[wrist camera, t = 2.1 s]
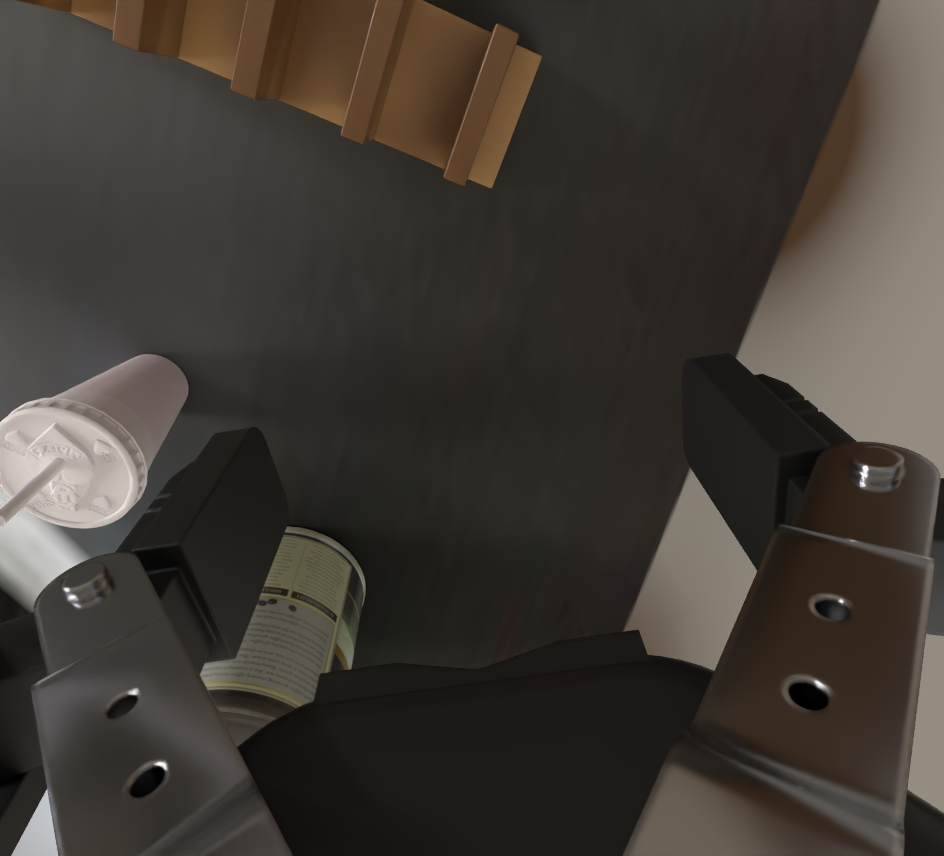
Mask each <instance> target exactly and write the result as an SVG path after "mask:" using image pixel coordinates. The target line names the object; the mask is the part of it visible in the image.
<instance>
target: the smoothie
mask: <svg viewBox="0 0 944 856" xmlns="http://www.w3.org/2000/svg"><path fill="white" fill-rule="evenodd" d="M188 391H189V388H188V382H187V379H186V377H185V375H184V373H183V372H182V371H181V369H180V368H179V367H178V366H177V365H176V364H174V363H173V362H172V361H170V360H168V359H167V358H164V357H162V356H159V355H154V354H143V355H139V356H136V357H134V358H132V359H130V360H128V361H126V362H124V363H122V364H120V365H118V366H116V367H114V368H112V369H110V370H108V371H106V372H104V373H102V374H99V375H97V376H95V377H93V378H91V379H89V380H87V381H85V382H83V383H81V384H79V385H77V386H75V387H73V388H71V389H69V390H67V391H65V392H63V393H61V394H58V395H56V396H54V397H52V398H42V399H38V400H34V401H30V402H26V403H25V404H23V405H22V406H20V407H18V408H17V409H15V410H13V411H12V412H11V413H10V415H9V416H7V417H6V418H5V419H3V420H2V421H1V422H0V487H1V488H2V489H3V490H4V491H5V493H6V494H7V495H8V496H9V497H10V499H9V500H8V501H6V502H5V503H4V504H3V505H2V506H1V507H0V526H3V525H5V524H6V523H7V522H8V521H9V520H10V519H11V518H12V517H13V516H14V515H15V514H16V513H17V512H18V511H19V510H20V509H21V508H23V509H25V510H26V511H28V512H29V513H31V514H33V515H35V516H37V517H39V518H41V519H43V520H45V521H48V522H51V523H54V524H57V525H61V526H66V527H72V528H95V527H100V526H104V525H107V524H110V523H112V522H114V521H116V520H118V519H120V518H121V517H122V516H124V515H125V514H126V513H127V512H128V511H129V510H130V508H132V507H133V506H134V505H135V503H136V502H137V501H138V500H139V499H140V498H141V497H142V494H143V492H144V490H145V487H146V485H147V474H148V470H149V468H150V466H151V464H152V462H153V460H154V458H155V456H156V454H157V453H158V451H159V449H160V447H161V445H162V443H163V442H164V440H165V438H166V436H167V434H168V432H169V430H170V429H171V427H172V425H173V423H174V421H175V419H176V418H177V416H178V414H179V412H180V410H181V408H182V407H183V405H184V403H185V401H186V399H187V397H188Z"/></svg>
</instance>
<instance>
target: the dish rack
mask: <svg viewBox="0 0 944 856" xmlns="http://www.w3.org/2000/svg"><path fill="white" fill-rule="evenodd" d="M17 1H21V2H26V3H30V4H34V5H39V6H43V7H47V8H52V9H56V10H60V11H65V12H69V13H72V14H75V15H77V16H79V17H82V18H84V19H87V20H89V21H91V22H94V23H96V24H99V25H101V26H103V27H106V28H108V29H110V30H113V41H114V42H116V43H119V44H121V45H124V46H126V47H128V48H131V49H133V50H136V51H139V52H145V53H152V54H158V55H164V56H171V57H177V58H180V59H182V60H185V61H187V62H189V63H192V64H194V65H197V66H199V67H201V68H204V69H206V70H209V71H211V72H213V73H216V74H218V75H221V76H223V77H225V78H228V79H230V80H232V83H231V88H230V89H231V90H232V91H234V92H237V93H239V94H242V95H244V96H246V97H249V98H251V99H254V100H280V101H283V102H285V103H288V104H290V105H292V106H295V107H297V108H300V109H302V110H304V111H307V112H309V113H311V114H314V115H316V116H319V117H321V118H323V119H326V120H328V121H331V122H333V123H335V124H338V125H340V126H343V127H342V130H341V135H342V136H343V137H346V138H348V139H350V140H353V141H355V142H358V143H360V144H364V143H366V142H368V141H371V140H373V139H374V140H376V141H379V142H381V143H383V144H386V145H388V146H390V147H393V148H395V149H398V150H400V151H402V152H405V153H407V154H410V155H412V156H414V157H417V158H419V159H422V160H424V161H426V162H429V163H431V164H434V165H436V166H438V167H441V168H443V169H444V175H443V177H444V178H445V179H447V180H449V181H452V182H454V183H456V184H459V185H461V186H465V184H466V182H467V179H469V180H472V181H474V182H477V183H479V184H481V185H484V186H486V187H489V188H492V187H493V184H494V181H495V179H496V176H497V174H498V171H499V168H500V166H501V163H502V160H503V158H504V155H505V153H506V150H507V147H508V145H509V142H510V140H511V137H512V134H513V132H514V129H515V126H516V124H517V121H518V119H519V116H520V113H521V111H522V108H523V106H524V103H525V100H526V98H527V95H528V92H529V90H530V87H531V85H532V82H533V79H534V77H535V74H536V72H537V69H538V66H539V64H540V61H541V58H542V56H540V55H538V54H536V53H534V52H532V51H530V50H528V49H525V48H523V47H521V46H519V45H517V41H518V39H519V33H518V32H516V31H514V30H512V29H510V28H508V27H506V26H503V25H501V24H499V23H497V24H496V25H495V27H494V29H493V30H492V32H489V31H487V30H485V29H483V28H481V27H479V26H477V25H474V24H472V23H470V22H468V21H466V20H464V19H462V18H460V17H457V16H455V15H453V14H451V13H449V12H447V11H445V10H443V9H440V8H438V7H436V6H434V5H432V4H430V3H428V2H426V1H423V0H17Z"/></svg>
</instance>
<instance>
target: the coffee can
mask: <svg viewBox="0 0 944 856" xmlns="http://www.w3.org/2000/svg"><path fill="white" fill-rule="evenodd" d="M365 593H366V585H365V579H364V575H363V572H362V570H361V568H360V566H359V564H358V562H357V561H356V559H355V558H354V557H353V555H352V554H351V553H350V552H349V551H348V550H347V549H345V548H344V547H343V546H342V545H341V544H339V543H338V542H336V541H335V540H333V539H331V538H329V537H327V536H326V535H323V534H321V533H318V532H316V531H313V530H309V529H306V528H301V527H290V526H287V528H286V531H285V533H284V536H283V538H282V541H281V543H280V546H279V549H278V551H277V554H276V556H275V559H274V561H273V564H272V567H271V569H270V572H269V574H268V577H267V579H266V582H265V585H264V587H263V590H262V592H261V595H260V597H259V600H258V603H257V605H256V608H255V610H254V613H253V615H252V618H251V621H250V623H249V626H248V628H247V631H246V633H245V636H244V638H243V641H242V644H241V646H240V649H239V651H238V654H237V656H236V659H231V660H224V661H217V662H210V663H205V664H204V666H203V669H202V671H201V673H200V676H201V678H202V680H203V682H204V683H205V685H206V687H207V689H208V691H209V693H210V695H211V697H212V699H213V701H214V703H215V704H216V706H217V708H218V710H219V712H220V714H221V716H222V718H223V720H224V722H225V724H226V725H227V727H228V729H229V731H230V733H231V735H232V737H233V739H234V741H235V743H236V745H237V747H238V746H239V745H240V744H241V743H242V742H244V741H245V740H246V739H247V738H248V737H250V736H251V735H252V734H254V733H255V732H256V731H258V730H259V729H261V728H262V727H264V726H265V725H266V724H268V723H269V722H271V721H273V720H275V719H276V718H278V717H280V716H281V715H283V714H285V713H287V712H289V711H291V710H293V709H295V708H297V707H299V706H301V705H304V704H306V703H309V702H311V701H314V697H315V692H316V688H317V684H318V679H319V675H320V673H327V672H334V671H342V670H349V669H351V667H352V661H353V656H354V650H355V644H356V638H357V632H358V627H359V620H360V615H361V609H362V606H363V603H364V599H365Z"/></svg>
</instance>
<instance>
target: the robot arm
mask: <svg viewBox="0 0 944 856" xmlns="http://www.w3.org/2000/svg"><path fill="white" fill-rule="evenodd" d="M682 387H683V444H684V450H685V454H686V458H687V461H688V463H689V466H690V467H691V469H692V471H693V472H694V474H695V475H696V477H697V478H698V480H699V482H700V483H701V485H702V486H703V488H704V489H705V491H706V492H707V494H708V495H709V497H710V498H711V500H712V502H713V503H714V505H715V506H716V508H717V509H718V511H719V512H720V514H721V515H722V517H723V518H724V520H725V522H726V523H727V525H728V526H729V528H730V529H731V531H732V532H733V534H734V535H735V537H736V539H737V540H738V541H739V543H740V545H741V546H742V548H743V549H744V551H745V552H746V554H747V555H748V557H749V559H750V560H751V562H752V563H753V565H754V566H755V568H756V569H757V573H756V576H755V578H754V580H753V583H752V585H751V587H750V590H749V592H748V594H747V597H746V599H745V601H744V604H743V606H742V608H741V611H740V613H739V615H738V618H737V620H736V623H735V625H734V627H733V629H732V632H731V634H730V636H729V639H728V641H727V643H726V646H725V648H724V651H723V653H722V655H721V657H720V660H719V662H718V664H717V667H716V669H715V671H713V670H710V669H708V668H705V667H703V666H700V665H697V664H693V663H689V662H686V661H683V660H679V659H673V658H667V657H662V656H653V655H647V652H646V649H645V647H644V644H643V641H642V638H641V635H640V632H639V630H633V631H626V632H618V633H611V634H604V635H597V636H589V637H582V638H575V639H567V640H560V641H557V642H554V643H551V644H548V645H545V646H543V647H540V648H537V649H534V650H531V651H529V652H526V653H523V654H520V655H518V656H515V657H512V658H509V659H506V660H504V661H501V662H498V663H495V664H492V665H490V666H487V667H483V668H479V669H464V668H452V667H439V666H427V665H415V664H403V663H393V664H385V665H378V666H371V667H364V668H356V669H349V670H342V671H334V672H327V673H320V675H319V679H318V684H317V688H316V692H315V697H314V701H311V702H309V703H306V704H304V705H301V706H299V707H297V708H295V709H293V710H291V711H289V712H287V713H285V714H283V715H281V716H280V717H278V718H276V719H275V720H273V721H271V722H269V723H268V724H266V725H265V726H264V727H262V728H261V729H259V730H258V731H256V732H255V733H254V734H252V735H251V736H250V737H248V738H247V739H246V740H245V741H244V742H242V743H241V744H240V745H239V746H238V747H237V745H236V743H235V741H234V739H233V737H232V735H231V733H230V731H229V729H228V727H227V725H226V724H225V722H224V720H223V718H222V716H221V714H220V712H219V710H218V708H217V706H216V704H215V703H214V701H213V699H212V697H211V695H210V693H209V691H208V689H207V687H206V685H205V683H204V682H203V680H202V678H201V676H200V673H201V671H202V669H203V666H204V664H205V663H210V662H217V661H224V660H231V659H236V656H237V654H238V651H239V649H240V646H241V644H242V641H243V638H244V636H245V633H246V631H247V628H248V626H249V623H250V621H251V618H252V615H253V613H254V610H255V608H256V605H257V603H258V600H259V597H260V595H261V592H262V590H263V587H264V585H265V582H266V579H267V577H268V574H269V572H270V569H271V567H272V564H273V561H274V559H275V556H276V554H277V551H278V549H279V546H280V543H281V541H282V538H283V536H284V533H285V531H286V528H287V524H288V504H287V499H286V496H285V492H284V490H283V487H282V484H281V481H280V479H279V476H278V473H277V470H276V468H275V465H274V462H273V459H272V457H271V454H270V451H269V448H268V446H267V443H266V440H265V438H264V436H263V434H262V432H261V431H260V430H259V429H258V428H256V427H252V428H246V429H240V430H233V431H227V432H221V433H216V434H214V435H213V437H212V438H211V439H210V441H209V442H208V444H207V445H206V446H205V448H204V449H203V451H202V452H201V453H200V455H199V456H198V458H197V459H196V460H195V462H192V463H190V464H189V465H188V466H186V467H185V468H184V469H182V470H181V471H180V472H178V473H177V474H176V475H174V476H173V477H172V478H171V479H170V480H169V481H168V482H167V484H166V485H165V486H164V488H163V489H162V490H161V492H160V493H159V494H158V499H155V500H154V501H153V502H152V504H151V505H150V506H149V508H148V509H147V513H146V514H144V515H143V516H142V517H141V519H140V520H139V521H138V523H137V524H136V525H135V527H134V528H133V529H132V531H131V532H130V533H129V535H128V536H127V537H126V539H125V540H124V541H123V543H122V544H121V545H120V547H119V548H118V549H117V551H116V552H115V553H109V554H104V555H101V556H97V557H94V558H92V559H89V560H87V561H84V562H82V563H80V564H78V565H76V566H74V567H72V568H70V569H69V570H67V571H65V572H64V573H62V574H61V575H60V576H58V577H57V578H55V579H54V580H53V581H52V582H51V583H49V584H48V585H47V586H46V587H45V588H44V589H43V591H42V592H41V593H40V594H39V596H38V597H37V599H36V601H35V604H34V612H33V613H30V614H27V615H24V616H21V617H18V618H15V619H12V620H10V621H7V622H4V623H1V624H0V856H11V855H12V853H13V851H14V849H15V847H16V846H17V843H18V842H19V840H20V838H21V836H22V834H23V832H24V831H25V828H26V827H27V825H28V823H29V821H30V819H31V817H32V815H33V814H34V812H35V810H36V808H37V806H38V804H39V802H40V801H41V799H42V797H43V795H44V793H45V791H46V789H48V796H49V802H50V808H51V814H52V819H53V826H54V832H55V838H56V844H57V849H58V856H944V813H943V812H941V811H940V810H938V809H937V808H935V807H934V806H932V805H931V804H929V803H927V802H926V801H924V800H923V799H921V798H920V797H918V796H917V795H915V794H913V793H912V792H910V791H909V790H907V787H908V779H909V771H910V762H911V754H912V746H913V738H914V729H915V721H916V713H917V704H918V696H919V688H920V680H921V671H922V663H923V654H924V647H925V638H926V634H932V635H942V636H944V478H940V473H939V470H938V469H937V467H936V466H935V465H934V464H933V463H932V462H931V461H929V460H928V459H927V458H925V457H923V456H922V455H920V454H918V453H915V452H913V451H911V450H908V449H905V448H902V447H898V446H895V445H890V444H884V443H877V442H857V441H856V440H854V439H853V438H852V437H851V436H850V435H848V434H847V433H846V432H845V431H844V430H843V429H841V428H840V427H839V426H838V425H837V424H835V423H834V422H833V421H832V420H831V419H829V418H828V417H827V416H826V415H825V414H824V413H822V412H818V408H816V407H815V406H814V405H813V404H812V403H810V402H809V401H808V400H804V397H803V396H802V395H801V394H800V393H799V392H797V391H796V390H795V389H794V388H793V387H791V386H790V385H789V384H787V383H785V382H782V381H780V380H777V379H775V378H772V377H769V376H766V375H764V374H759V375H753V374H752V373H751V372H750V371H749V370H748V369H747V368H746V367H744V366H743V365H742V364H741V363H740V362H739V361H738V360H737V359H736V358H735V357H734V356H733V355H731V354H730V353H724V354H718V355H712V356H706V357H699V358H693V359H687V360H686V361H685V363H684V366H683V375H682Z"/></svg>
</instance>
